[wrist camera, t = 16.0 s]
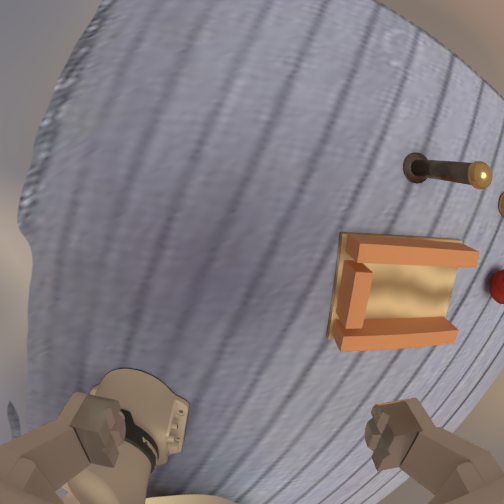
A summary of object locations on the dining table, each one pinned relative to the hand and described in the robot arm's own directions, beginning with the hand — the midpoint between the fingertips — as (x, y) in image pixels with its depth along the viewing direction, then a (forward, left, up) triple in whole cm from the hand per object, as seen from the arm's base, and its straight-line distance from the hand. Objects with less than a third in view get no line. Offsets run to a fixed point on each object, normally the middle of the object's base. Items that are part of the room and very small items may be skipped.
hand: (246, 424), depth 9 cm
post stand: (+9, -24, -34) cm, 43 cm away
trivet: (-9, -23, -34) cm, 42 cm away
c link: (-9, -23, -33) cm, 41 cm away
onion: (-8, -45, -34) cm, 57 cm away
